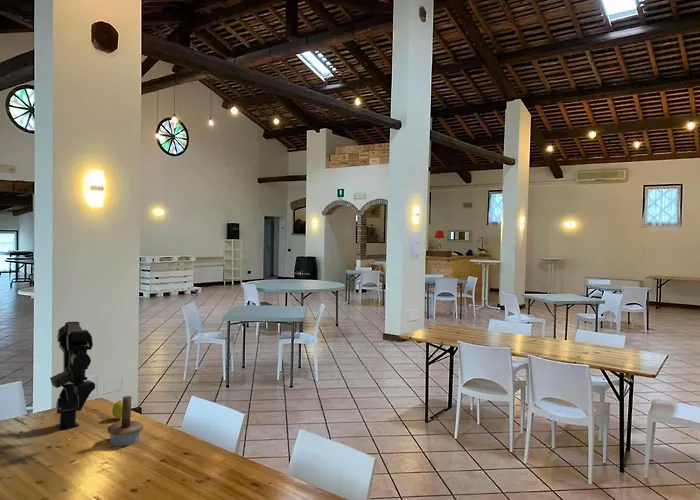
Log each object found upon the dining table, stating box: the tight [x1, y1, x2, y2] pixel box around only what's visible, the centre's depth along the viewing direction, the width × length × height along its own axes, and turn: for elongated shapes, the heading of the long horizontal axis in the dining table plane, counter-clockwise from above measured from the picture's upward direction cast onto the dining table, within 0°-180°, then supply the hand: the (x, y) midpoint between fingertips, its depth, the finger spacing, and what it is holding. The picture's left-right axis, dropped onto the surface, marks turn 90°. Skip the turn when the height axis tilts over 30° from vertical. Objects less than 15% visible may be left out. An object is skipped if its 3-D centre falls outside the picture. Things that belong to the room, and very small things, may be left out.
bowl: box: [109, 430, 141, 447], centre depth 180 cm, size 10×10×4 cm
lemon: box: [111, 400, 123, 420], centre depth 202 cm, size 6×6×8 cm
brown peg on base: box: [107, 395, 144, 435], centre depth 180 cm, size 12×12×12 cm
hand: (75, 405), depth 179 cm, fingers open, 9 cm apart
